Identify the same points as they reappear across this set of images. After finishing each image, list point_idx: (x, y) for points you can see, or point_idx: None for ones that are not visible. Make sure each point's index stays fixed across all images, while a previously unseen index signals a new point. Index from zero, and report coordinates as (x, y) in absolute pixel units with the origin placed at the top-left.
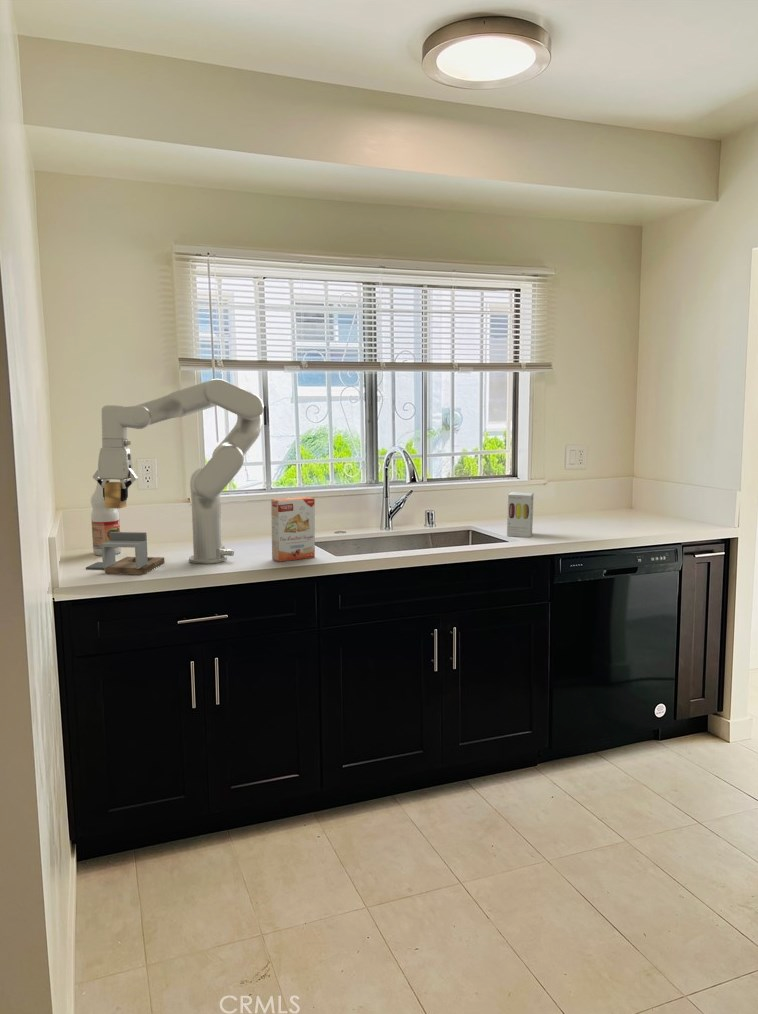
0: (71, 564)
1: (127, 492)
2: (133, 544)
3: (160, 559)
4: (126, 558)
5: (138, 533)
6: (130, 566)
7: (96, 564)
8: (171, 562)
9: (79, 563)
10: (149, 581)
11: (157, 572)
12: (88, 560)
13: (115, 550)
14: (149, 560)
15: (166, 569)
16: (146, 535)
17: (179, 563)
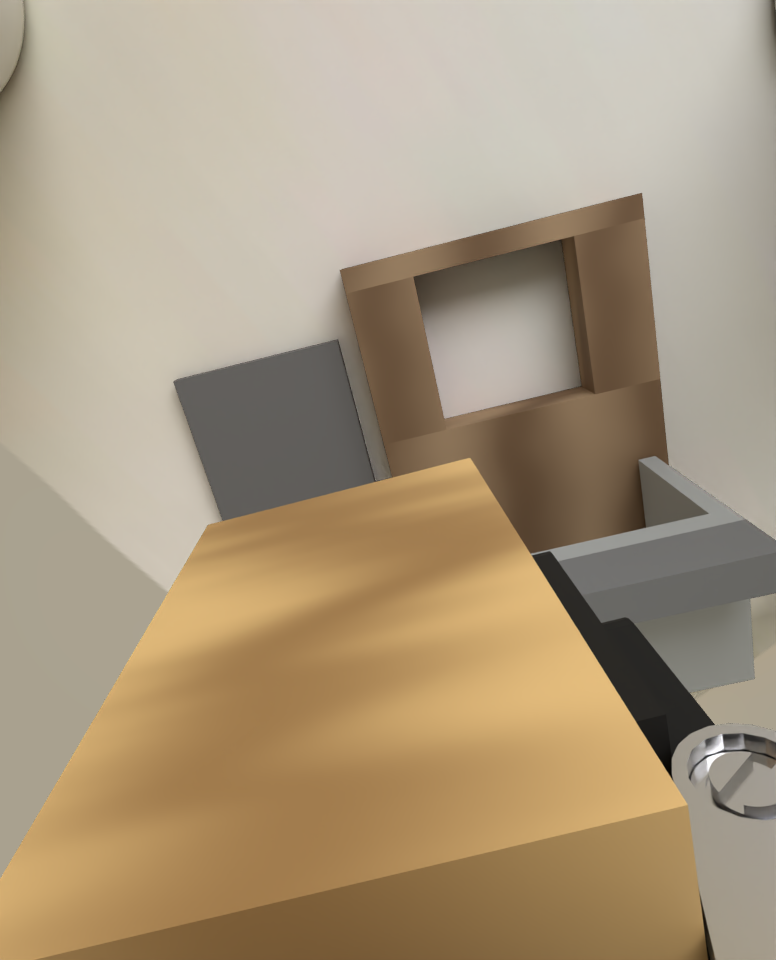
0: (27, 450)
1: (680, 694)
2: (723, 685)
3: (649, 271)
4: (381, 331)
5: (728, 600)
6: (567, 528)
7: (225, 445)
8: (660, 149)
9: (49, 408)
10: (768, 635)
11: (711, 454)
12: (20, 306)
13: (12, 17)
14: (588, 333)
15: (730, 365)
16: (771, 538)
17: (737, 160)
